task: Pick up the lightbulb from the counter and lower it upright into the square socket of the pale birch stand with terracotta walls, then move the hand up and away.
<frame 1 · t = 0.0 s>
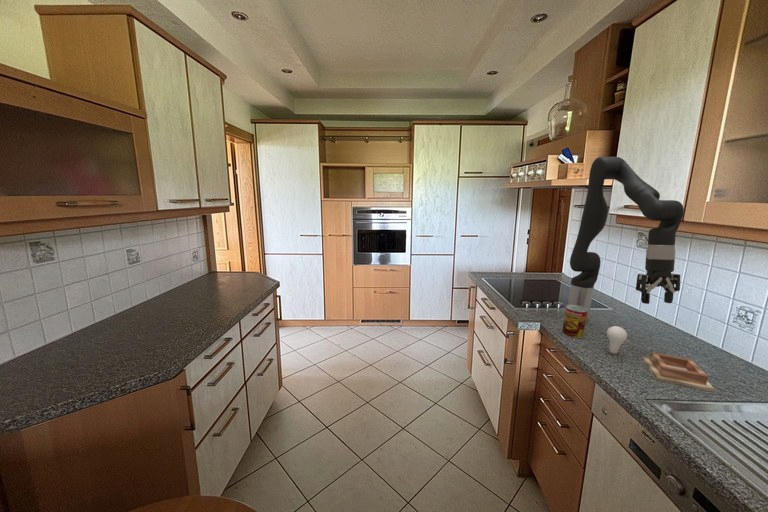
hand: (656, 303, 106), 22 cm above the worktop, tool pointing down, fingers open, 8 cm apart
socket stand: (675, 374, 103), on the worktop
canned food: (572, 334, 131), on the worktop
lightbulb: (612, 353, 115), on the worktop
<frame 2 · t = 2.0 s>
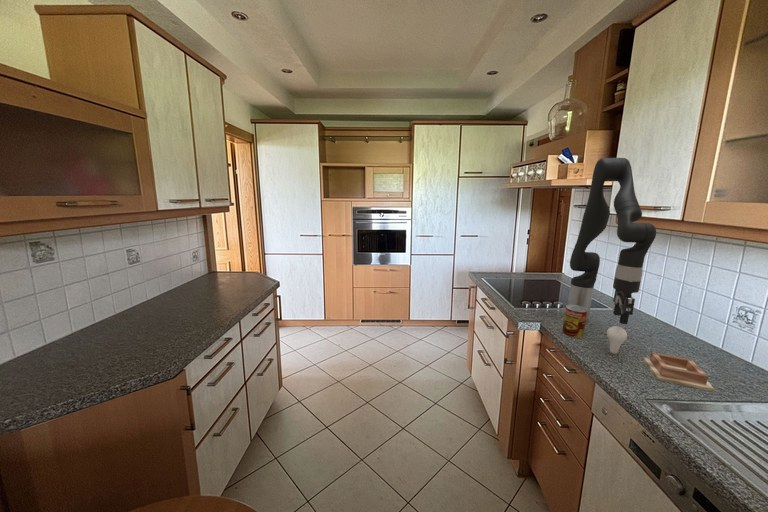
hand: (619, 319, 112), 14 cm above the worktop, tool pointing down, fingers open, 8 cm apart
nothing on the worktop moved.
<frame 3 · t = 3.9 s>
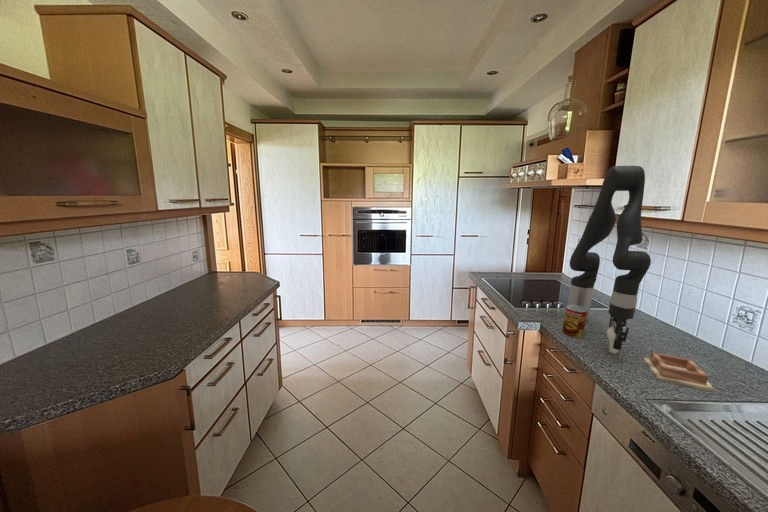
hand: (614, 345, 115), 3 cm above the worktop, tool pointing down, fingers closed on lightbulb, 5 cm apart
lightbulb: (612, 353, 115), on the worktop, touching gripper
everything else where it was.
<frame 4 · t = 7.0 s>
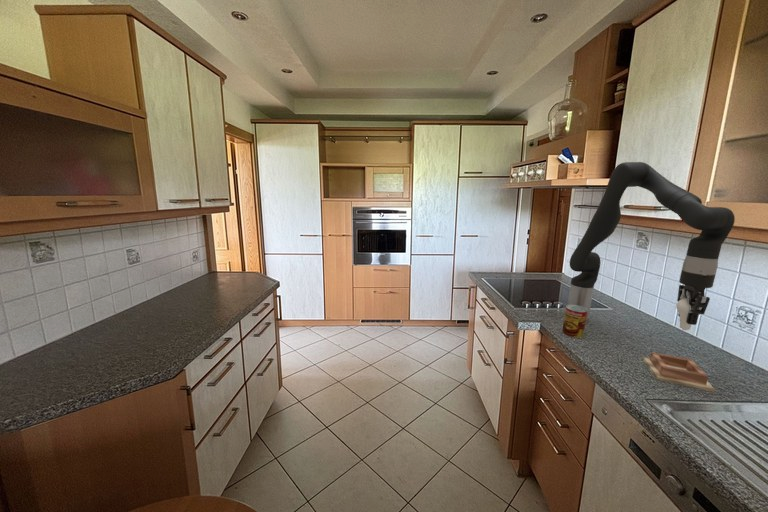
hand: (686, 320, 98), 20 cm above the worktop, tool pointing down, fingers closed on lightbulb, 5 cm apart
lightbulb: (684, 330, 99), point 16 cm above the worktop, touching gripper
everything else where it was.
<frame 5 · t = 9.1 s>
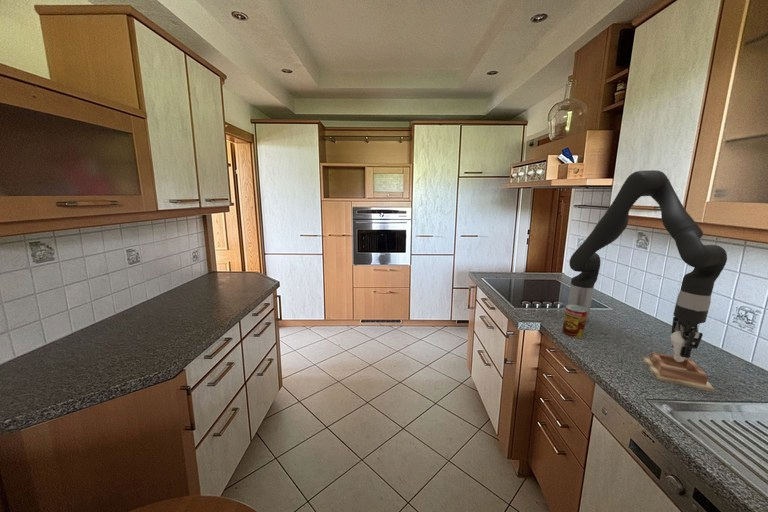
hand: (680, 352, 101), 8 cm above the worktop, tool pointing down, fingers closed on lightbulb, 5 cm apart
lightbulb: (677, 362, 102), point 4 cm above the worktop, touching gripper
everything else where it was.
when the fingers open (6 cm above the worktop, at t = 10.6 s): lightbulb drops 1 cm, resting on socket stand.
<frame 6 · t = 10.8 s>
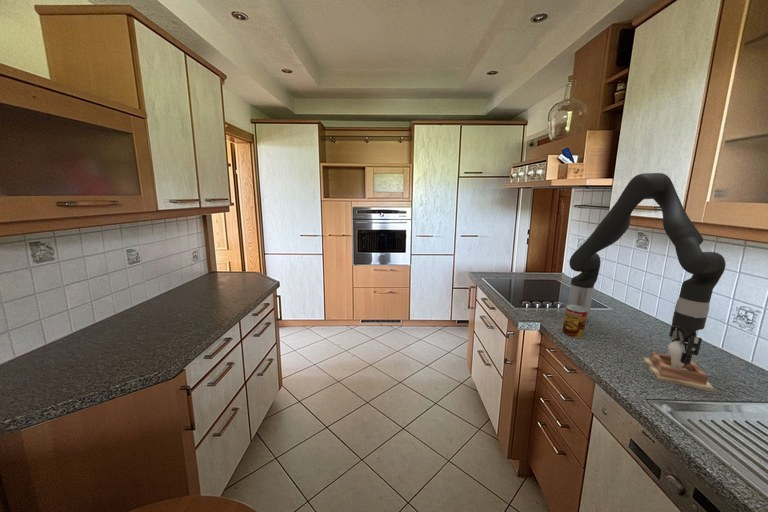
hand: (679, 357, 101), 6 cm above the worktop, tool pointing down, fingers open, 7 cm apart
lightbulb: (675, 371, 103), point 1 cm above the worktop, touching socket stand
everything else where it was.
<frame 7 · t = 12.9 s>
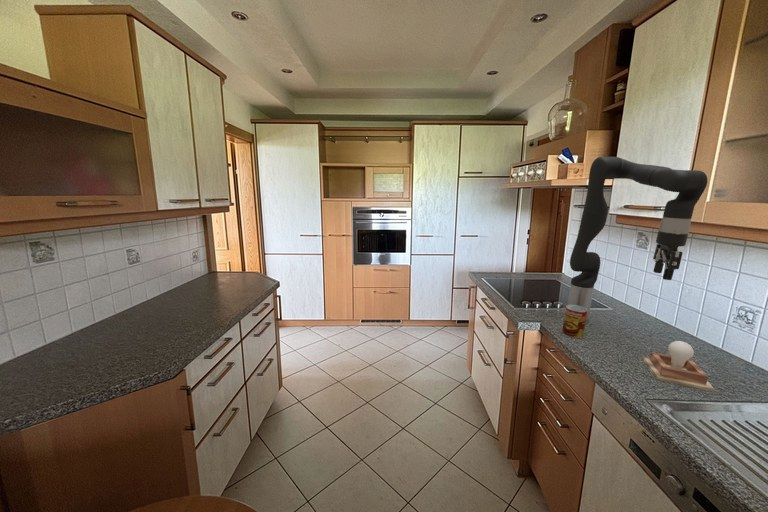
hand: (661, 276, 106), 32 cm above the worktop, tool pointing down, fingers open, 8 cm apart
nothing on the worktop moved.
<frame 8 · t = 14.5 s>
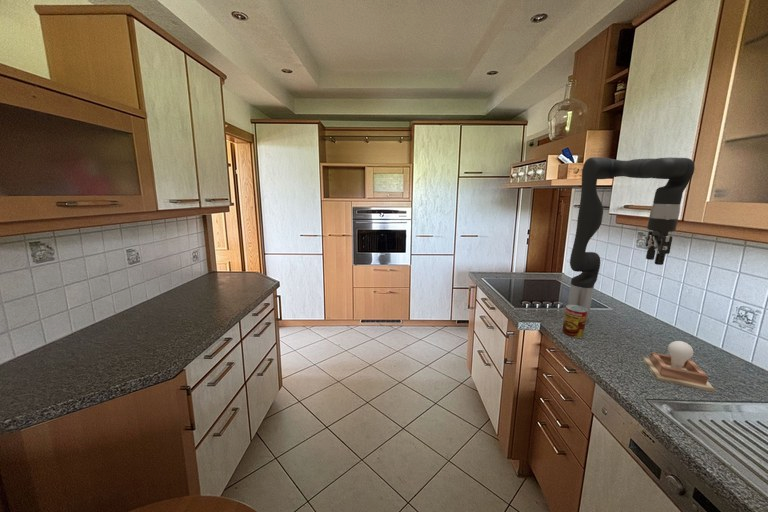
hand: (653, 261, 109), 36 cm above the worktop, tool pointing down, fingers open, 8 cm apart
nothing on the worktop moved.
at the end: lightbulb 0.2 cm off-centre on the socket stand, point 0.8 cm above the socket stand's base; lightbulb tilted 0°; the gripper is holding nothing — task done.
